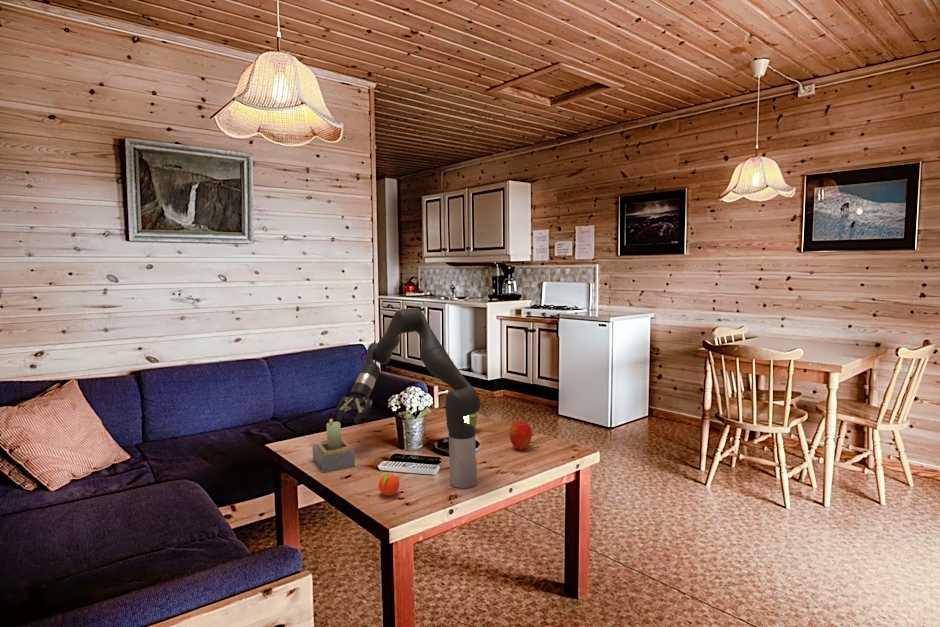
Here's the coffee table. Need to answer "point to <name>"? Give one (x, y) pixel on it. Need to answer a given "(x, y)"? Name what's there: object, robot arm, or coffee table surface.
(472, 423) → the plant pot
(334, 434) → the pale green candle
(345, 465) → the grey open box
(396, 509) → the coffee table surface
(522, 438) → the apple
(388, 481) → the clementine
